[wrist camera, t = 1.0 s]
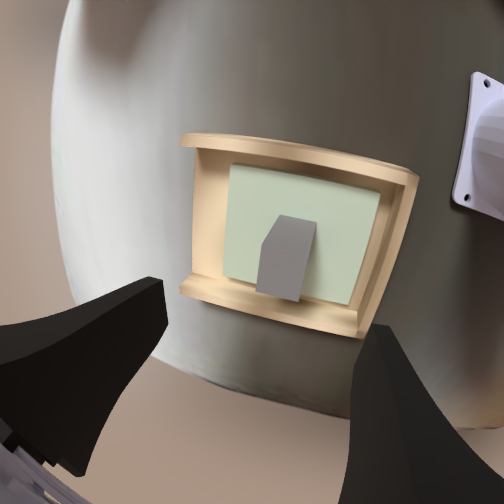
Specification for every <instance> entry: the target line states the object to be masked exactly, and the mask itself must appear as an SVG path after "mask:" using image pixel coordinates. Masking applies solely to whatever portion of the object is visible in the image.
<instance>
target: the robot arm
mask: <svg viewBox="0 0 504 504" xmlns="http://www.w3.org/2000/svg"><path fill="white" fill-rule="evenodd" d="M484 80H485V81H486V82H487V84H488V87H487V88H486V87H485V85H484ZM466 194H468V195H469V198H468V200H467V201H464V196H465V195H466ZM452 199H453V200H454V201H455V202H456V203H458V204H460V205H463V206H465V207H468V208H471V209H474V210H477V211H479V212H482V213H485V214H487V215H490V216H492V217H495V218H497V219H500V220H502V221H504V85H503V84H501V83H499V82H497V81H496V80H494V79H492V78H490V77H488V76H486V75H484V74H482V73H480V72H475V73H473V74H472V75H471V82H470V94H469V104H468V113H467V120H466V127H465V133H464V139H463V145H462V150H461V155H460V160H459V165H458V169H457V174H456V178H455V182H454V186H453V190H452ZM168 324H169V323H168V316H167V310H166V302H165V295H164V287H163V280H161V279H157V278H153V277H146V278H143V279H140V280H138V281H135V282H133V283H130V284H128V285H126V286H124V287H121V288H119V289H117V290H115V291H112V292H110V293H108V294H106V295H103V296H101V297H99V298H96V299H94V300H92V301H89V302H87V303H84V304H82V305H79V306H77V307H74V308H72V309H69V310H66V311H64V312H60V313H57V314H54V315H51V316H48V317H44V318H40V319H36V320H31V321H27V322H22V323H17V324H10V325H2V326H0V504H58V503H57V502H55V501H54V500H52V499H51V498H49V497H47V496H46V495H45V494H44V490H45V491H46V492H48V493H49V494H50V495H51V496H52V497H54V498H55V499H56V500H57V501H58V502H60V503H61V504H92V503H90V502H89V501H88V500H86V499H85V498H83V497H82V496H80V495H79V494H77V493H76V492H74V491H73V490H72V489H70V488H69V487H68V486H66V485H65V484H64V483H62V482H61V481H60V480H59V479H57V478H56V477H55V476H53V475H52V474H51V473H50V472H49V471H48V470H46V469H45V468H44V467H43V466H42V464H43V463H44V462H45V461H46V462H48V463H49V464H50V465H51V466H52V467H54V466H55V465H56V464H57V463H58V464H59V465H60V466H62V467H63V468H64V469H66V470H67V471H69V472H70V473H71V474H72V475H74V476H75V477H82V476H84V475H85V473H86V469H87V466H88V463H89V461H90V458H91V455H92V452H93V449H94V447H95V445H96V442H97V440H98V437H99V435H100V433H101V431H102V429H103V427H104V425H105V423H106V421H107V419H108V417H109V415H110V413H111V410H112V409H113V407H114V405H115V404H116V402H117V400H118V398H119V396H120V395H121V393H122V392H123V390H124V389H125V387H126V386H127V385H128V383H129V382H130V381H131V379H132V378H133V377H134V375H135V374H136V373H137V371H138V370H139V369H140V367H141V366H142V365H143V363H144V362H145V361H146V359H147V358H148V357H149V355H150V354H151V353H152V351H153V350H154V349H155V347H156V346H157V344H158V342H159V341H160V339H161V337H162V335H163V333H164V332H165V330H166V328H167V326H168ZM338 504H504V478H502V477H501V476H500V475H499V474H497V473H496V472H495V471H494V470H493V469H492V468H490V467H489V466H488V465H487V464H486V463H485V462H484V461H483V460H482V459H481V458H480V457H479V456H478V455H477V454H476V453H475V452H474V451H473V450H472V449H471V448H470V447H469V445H468V444H467V443H466V442H465V441H464V440H463V439H462V437H461V436H460V435H459V434H458V433H457V432H456V430H455V429H454V428H453V427H452V425H451V424H450V423H449V421H448V420H447V419H446V417H445V416H444V415H443V413H442V412H441V411H440V409H439V408H438V406H437V405H436V404H435V402H434V401H433V399H432V398H431V396H430V394H429V393H428V391H427V390H426V388H425V387H424V385H423V384H422V382H421V380H420V379H419V377H418V375H417V374H416V372H415V370H414V369H413V367H412V365H411V363H410V362H409V360H408V358H407V356H406V355H405V353H404V351H403V349H402V348H401V346H400V344H399V342H398V340H397V339H396V337H395V335H394V333H393V332H392V330H391V328H390V327H389V326H385V325H379V324H373V323H372V324H371V327H370V329H369V332H368V334H367V337H366V339H365V342H364V344H363V347H362V349H361V352H360V354H359V356H358V359H357V361H356V363H355V365H354V372H353V380H352V388H351V415H350V443H349V455H348V462H347V468H346V473H345V478H344V482H343V486H342V491H341V494H340V498H339V502H338Z"/></svg>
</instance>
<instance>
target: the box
mask: <svg viewBox="0 0 504 504" xmlns="http://www.w3.org/2000/svg"><path fill="white" fill-rule="evenodd" d="M180 146H188V147H196V154H195V173H194V197H193V238H192V273H191V274H190V275H189V276H188V278H187V279H186V280H185V281H184V282H183V283H182V284H181V285H180V294H182V295H186V296H189V297H192V298H196V299H199V300H203V301H206V302H210V303H213V304H217V305H220V306H224V307H227V308H231V309H235V310H239V311H242V312H246V313H250V314H254V315H258V316H262V317H265V318H269V319H273V320H278V321H282V322H286V323H290V324H294V325H298V326H303V327H307V328H311V329H316V330H320V331H325V332H330V333H334V334H339V335H344V336H349V337H354V338H359V339H364V337H365V335H366V333H367V331H368V328H369V326H370V324H371V322H372V319H373V317H374V315H375V312H376V310H377V308H378V305H379V303H380V300H381V298H382V295H383V293H384V290H385V287H386V285H387V282H388V280H389V277H390V274H391V271H392V269H393V266H394V263H395V260H396V257H397V254H398V251H399V248H400V245H401V242H402V239H403V236H404V233H405V229H406V226H407V223H408V219H409V216H410V212H411V208H412V205H413V201H414V197H415V193H416V189H417V185H418V181H419V176H418V175H416V174H415V173H413V172H412V171H410V170H409V169H408V168H404V167H401V166H397V165H394V164H390V163H386V162H382V161H378V160H375V159H370V158H366V157H362V156H358V155H354V154H349V153H345V152H340V151H335V150H330V149H325V148H320V147H315V146H310V145H304V144H298V143H292V142H286V141H279V140H273V139H265V138H258V137H250V136H241V135H232V134H221V133H210V132H197V133H190V134H183V135H181V140H180ZM234 162H238V163H245V164H252V165H259V166H265V167H271V168H277V169H283V170H289V171H294V172H300V173H305V174H310V175H315V176H320V177H325V178H330V179H334V180H339V181H344V182H348V183H352V184H357V185H361V186H365V187H369V188H373V189H377V190H379V191H380V193H381V194H380V199H379V203H378V207H377V211H376V215H375V219H374V222H373V226H372V230H371V233H370V237H369V241H368V244H367V248H366V251H365V254H364V258H363V261H362V264H361V267H360V271H359V274H358V277H357V280H356V283H355V286H354V289H353V292H352V295H351V298H350V301H349V304H348V305H346V304H341V303H336V302H332V301H327V300H323V299H318V298H314V297H310V296H305V295H301V294H300V297H299V301H298V302H296V301H292V300H288V299H284V298H279V297H275V296H271V295H267V294H263V293H259V292H255V290H256V284H254V283H250V282H246V281H242V280H238V279H234V278H230V277H226V276H222V273H223V257H224V242H225V227H226V213H227V200H228V187H229V175H230V164H232V163H234Z"/></svg>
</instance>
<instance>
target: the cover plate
mask: <svg viewBox="0 0 504 504" xmlns="http://www.w3.org/2000/svg"><path fill="white" fill-rule="evenodd" d="M380 194H381V193H380V191H379V190H377V189H373V188H369V187H365V186H361V185H357V184H352V183H348V182H344V181H339V180H334V179H330V178H325V177H320V176H315V175H310V174H305V173H300V172H294V171H289V170H283V169H277V168H271V167H265V166H259V165H252V164H245V163H238V162H234V163H232V164H230V175H229V187H228V200H227V213H226V227H225V242H224V257H223V273H222V276H226V277H230V278H234V279H238V280H242V281H246V282H250V283H254V284H256V290H255V292H259V293H263V294H267V295H271V296H275V297H279V298H284V299H288V300H292V301H296V302H298V301H299V297H300V294H301V295H305V296H310V297H314V298H318V299H323V300H327V301H332V302H336V303H341V304H346V305H348V304H349V301H350V298H351V295H352V292H353V289H354V286H355V283H356V280H357V277H358V274H359V271H360V267H361V264H362V261H363V258H364V254H365V251H366V248H367V244H368V241H369V237H370V233H371V230H372V226H373V222H374V219H375V215H376V211H377V207H378V203H379V199H380Z"/></svg>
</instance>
